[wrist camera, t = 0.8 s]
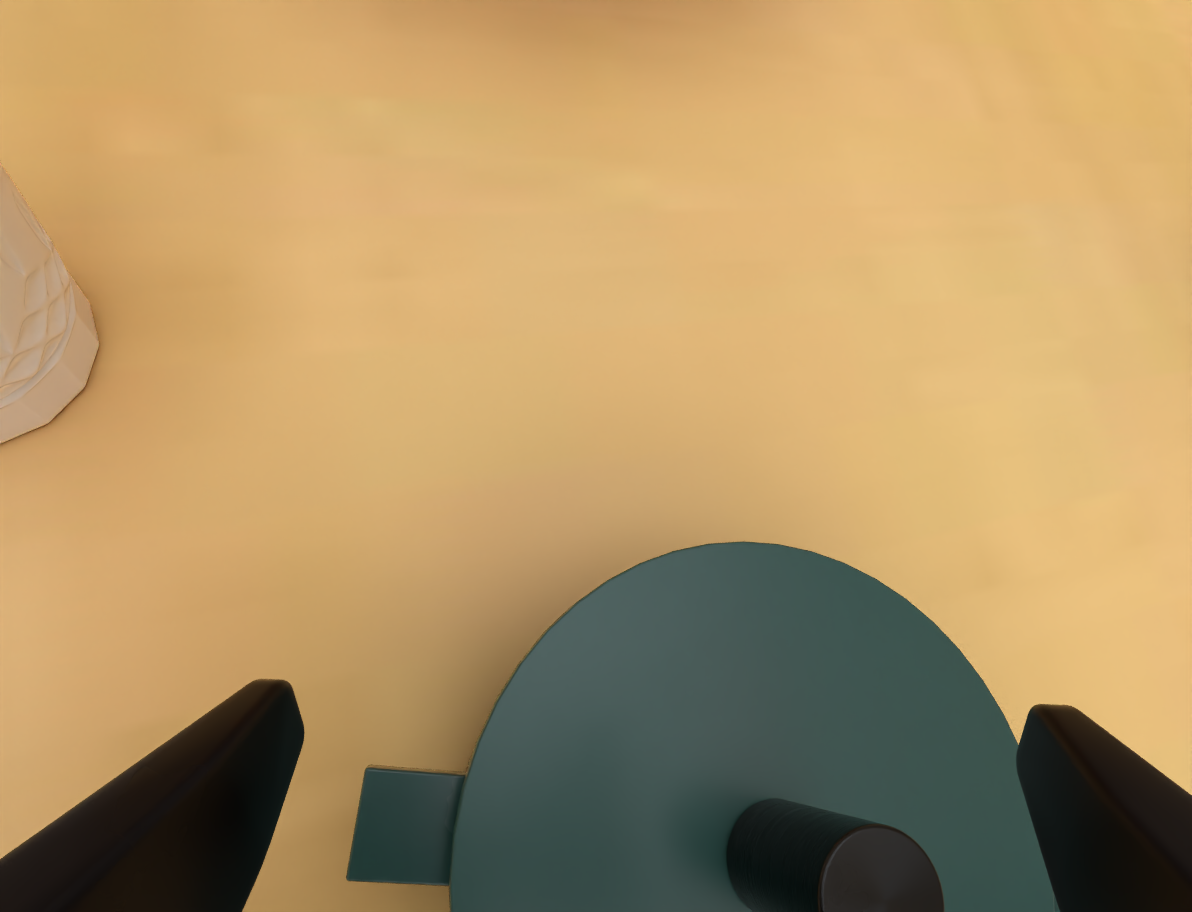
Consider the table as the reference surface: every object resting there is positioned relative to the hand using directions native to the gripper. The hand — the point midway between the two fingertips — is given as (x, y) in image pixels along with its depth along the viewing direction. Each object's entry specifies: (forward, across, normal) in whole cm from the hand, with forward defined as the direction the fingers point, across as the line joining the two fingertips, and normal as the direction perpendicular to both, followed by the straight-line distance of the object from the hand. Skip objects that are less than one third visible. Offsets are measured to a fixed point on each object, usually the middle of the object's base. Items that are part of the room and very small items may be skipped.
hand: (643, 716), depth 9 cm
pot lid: (+6, -3, +10) cm, 12 cm away
